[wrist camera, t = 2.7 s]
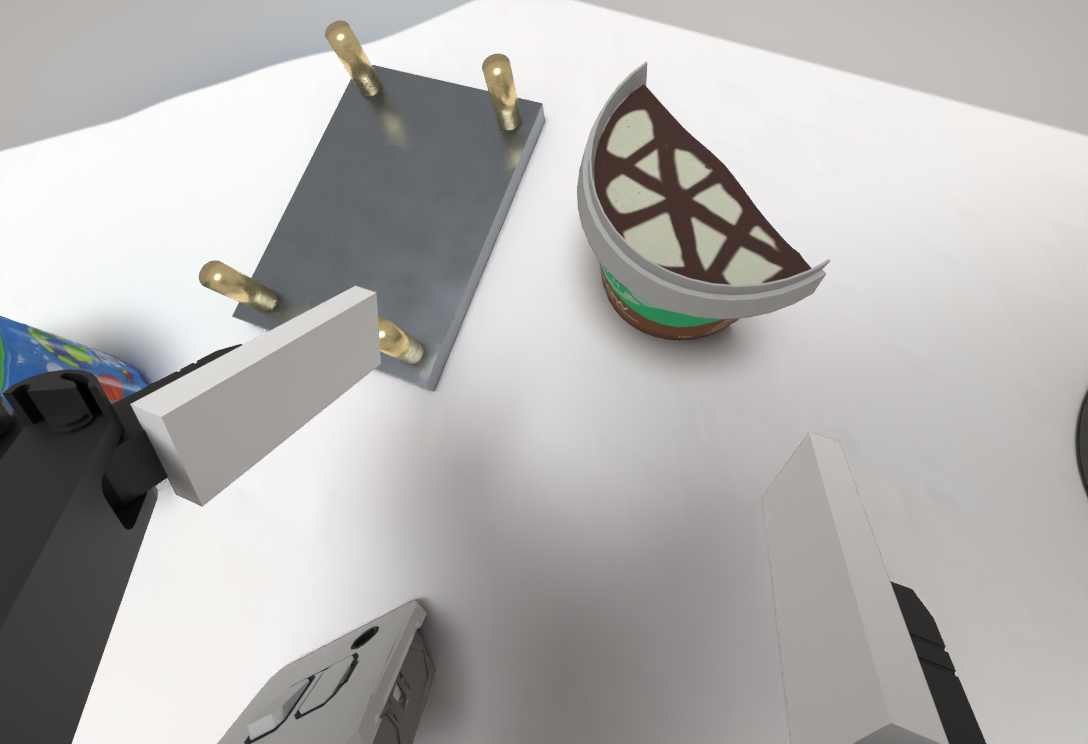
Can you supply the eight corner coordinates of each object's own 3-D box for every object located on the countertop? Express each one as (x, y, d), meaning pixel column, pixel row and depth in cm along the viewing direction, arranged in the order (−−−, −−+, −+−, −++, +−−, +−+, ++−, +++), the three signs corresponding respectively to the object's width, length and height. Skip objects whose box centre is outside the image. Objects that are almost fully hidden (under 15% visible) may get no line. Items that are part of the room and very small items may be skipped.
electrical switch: (424, 592, 25) (334, 694, 15) (463, 681, 24) (393, 843, 15) (279, 667, 25) (103, 813, 16) (314, 758, 24) (151, 966, 15)
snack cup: (-8, 397, 31) (-296, 366, 21) (104, 288, 31) (-122, 208, 21) (108, 560, 27) (-171, 616, 17) (229, 433, 28) (29, 417, 18)
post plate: (544, 120, 30) (534, 46, 25) (433, 391, 27) (394, 373, 22) (370, 80, 32) (325, 4, 27) (250, 323, 29) (173, 292, 24)
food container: (544, 246, 28) (518, 131, 18) (623, 194, 28) (638, 52, 18) (659, 402, 25) (700, 366, 16) (746, 344, 25) (841, 271, 16)
